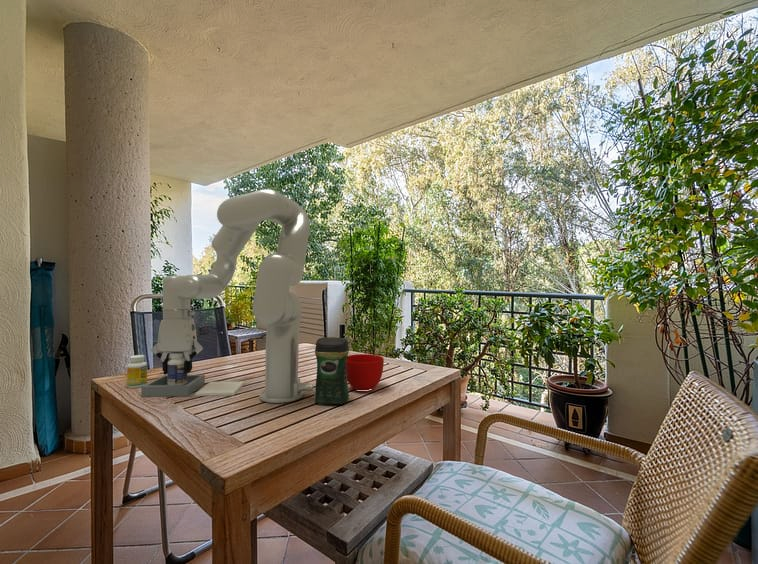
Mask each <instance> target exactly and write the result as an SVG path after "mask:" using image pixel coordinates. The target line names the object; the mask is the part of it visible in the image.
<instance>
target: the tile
mask: <svg viewBox="0 0 758 564" xmlns="http://www.w3.org/2000/svg"><path fill="white" fill-rule="evenodd" d="M245 384H246V382H245V381H209V382H208V383H207V384H205V385H203V387H201V388H199V390H198V391H195V392H194V393H195V394H194V395H195V396H198V397H200V396H202V397H203V396H205V397H206V396H209V397H210V396H211V397H212V396H235V394H236V393H237V392H238V391H239V390H240V389H241V388H242V387H243V386H245Z"/></svg>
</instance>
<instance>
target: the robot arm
mask: <svg viewBox="0 0 758 564" xmlns="http://www.w3.org/2000/svg"><path fill="white" fill-rule="evenodd" d="M216 217H217V218H216V219H217V221H218V222H219V223H220V224H221V225H222V226H221V227H220V229H219V230H218V232H217V233H216V234H215V236H214V237H213V239H212V241H211V243H210V244H211V247H212V248H213V250H214V251H215V253H216V261H215V263H214V265H213V267H212V268H211V269H210V271H209V273H208V274H186V275H167V276H164V278H162V319H161V320H160V323H159V328H158V334H157V335H158V336H157V342H156V343H155V344H154V346H152V348H151V349H150V352H152V353H153V355H156V357H157V358H159V360H160V361H161V362H162V372H163V375H168V367H167V364H168V361H169V360H170V353H173V352H184V355H185V357H184V359H186V361H185V362H184V373H185V374H187V375H189V373H191V372H192V370H193V359H195V357H196V356H197V355H198V354H199V353H200V352H201V351H202V350H203V349H204V347H203V346H202V344H200V343H199V342H198V338H197V337H198V336H197V330H196V323H195V320H194V318H192V317H193V316H196V311H195V310H192V308H191V300H202V299H213V298H217V297H219V296H220V294H222V293H223V292H224V291H225V289H226V288H227V286H228V285H229V284H230V282H231V280H232V279H233V277H234V275H235V272H236V267H237V263H238V261H237V260H238V257H239V255H241V252H242V251H243V249H244V248H245V246H246V245H247V243H248V242H249V241H250V239H251V238H252V236H253V235H254V234H255V232H256V230H257V229H258V228H259V226H260V223H261V222H263V221H270V222H272V223H274V224H277V225H280V226H281V227H282V230H281V232H280V234H279V237H278V241H277V249H276V252H274V253H270V254H268V255H267V256H265V257H264V258H263V260H262V261H261V262H260V264H259V267H258V270H257V275H256V281H255V287H254V294H253V302H252V313H253V316H254V318H255V320H256V321H257V322H258V323H259V324H260V325H262V326H266V327H267V330H266V336H265V369H264V372H265V377H264V378H265V379H264V380H265V381H264V389H263V391H261V392H260V393H259V397H258V398H259V399H260V400H261V401H263V402H265V403H269V404H272V403H273V404H282V403H284V402H285V403H290V402H291V403H292V402H294V401H297V400H299V399H301V398H302V397H303V396H304V392H313V389H314V385H313V384H310V383H309V382H307V383H302V382H301V378H299V347H300V345H299V344H300V326H301V319H302V302H301V300H300V299H299V296H298V295H296V294H295V293H294V292H292V291H290V287H294V286H297V285H298V284H300V283H301V281H302V279H303V276H304V272H305V266H306V265H305V264H306V258H307V253H308V252H307V250H308V242H309V236H310V229H311V226H310V225H311V224H310V218H309V216H308V214H307V212H306V210H305V209H304V207H302V206H301V205H300V204H298V203H297V202H295V201H294V200H292V199H291V198H289V197H288V196H285V195H284V194H283V193H281V192H279V191H277V190H275V189H270V188H267V189H266V188H265V189H259V190H255V191H251V192H248V193H244V194H241V195H240V194H239V195H236V196H233V197H230V198H227V199H225V200H224V201H222V202H221V204H220V205H218V208H217V212H216ZM192 350H194V351H192Z"/></svg>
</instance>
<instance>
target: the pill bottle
mask: <svg viewBox="0 0 758 564" xmlns="http://www.w3.org/2000/svg"><path fill="white" fill-rule="evenodd" d="M185 361H186V358H185V355H184V352H171V353H170V356H169V361H168V364H167V367H168V374H167V375H168V385H183V384H186V383H187V375H188V374H185V373H184V362H185Z"/></svg>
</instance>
